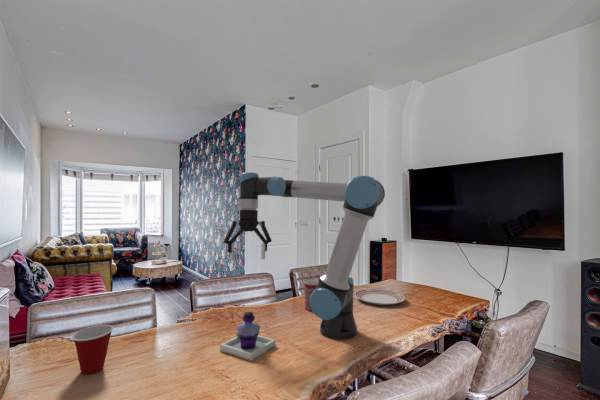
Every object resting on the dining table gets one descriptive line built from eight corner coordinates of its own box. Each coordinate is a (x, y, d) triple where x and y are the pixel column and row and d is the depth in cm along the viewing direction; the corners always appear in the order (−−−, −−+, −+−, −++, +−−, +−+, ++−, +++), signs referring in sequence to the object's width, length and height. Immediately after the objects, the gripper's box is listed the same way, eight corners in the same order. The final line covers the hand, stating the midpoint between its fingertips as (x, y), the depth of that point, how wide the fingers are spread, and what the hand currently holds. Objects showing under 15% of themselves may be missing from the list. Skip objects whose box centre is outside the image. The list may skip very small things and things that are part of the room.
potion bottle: (231, 344, 116) (232, 311, 116) (252, 339, 121) (253, 307, 121) (242, 353, 109) (243, 318, 109) (264, 347, 114) (265, 313, 114)
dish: (275, 346, 117) (275, 339, 117) (250, 361, 105) (251, 354, 105) (246, 337, 124) (246, 331, 124) (220, 350, 112) (220, 344, 112)
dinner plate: (411, 309, 166) (412, 302, 166) (359, 307, 166) (359, 301, 166) (396, 294, 193) (396, 289, 193) (351, 293, 193) (351, 288, 193)
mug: (324, 310, 159) (325, 283, 160) (308, 312, 156) (308, 285, 156) (313, 303, 171) (314, 278, 171) (298, 305, 167) (298, 279, 168)
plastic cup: (69, 368, 99) (70, 328, 99) (109, 358, 105) (110, 321, 106) (70, 383, 90) (72, 340, 90) (114, 372, 97) (115, 332, 97)
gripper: (273, 209, 144) (272, 257, 143) (217, 208, 133) (215, 260, 132) (279, 209, 137) (278, 259, 136) (221, 208, 126) (219, 262, 125)
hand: (247, 259), depth 134 cm, fingers open, 13 cm apart
